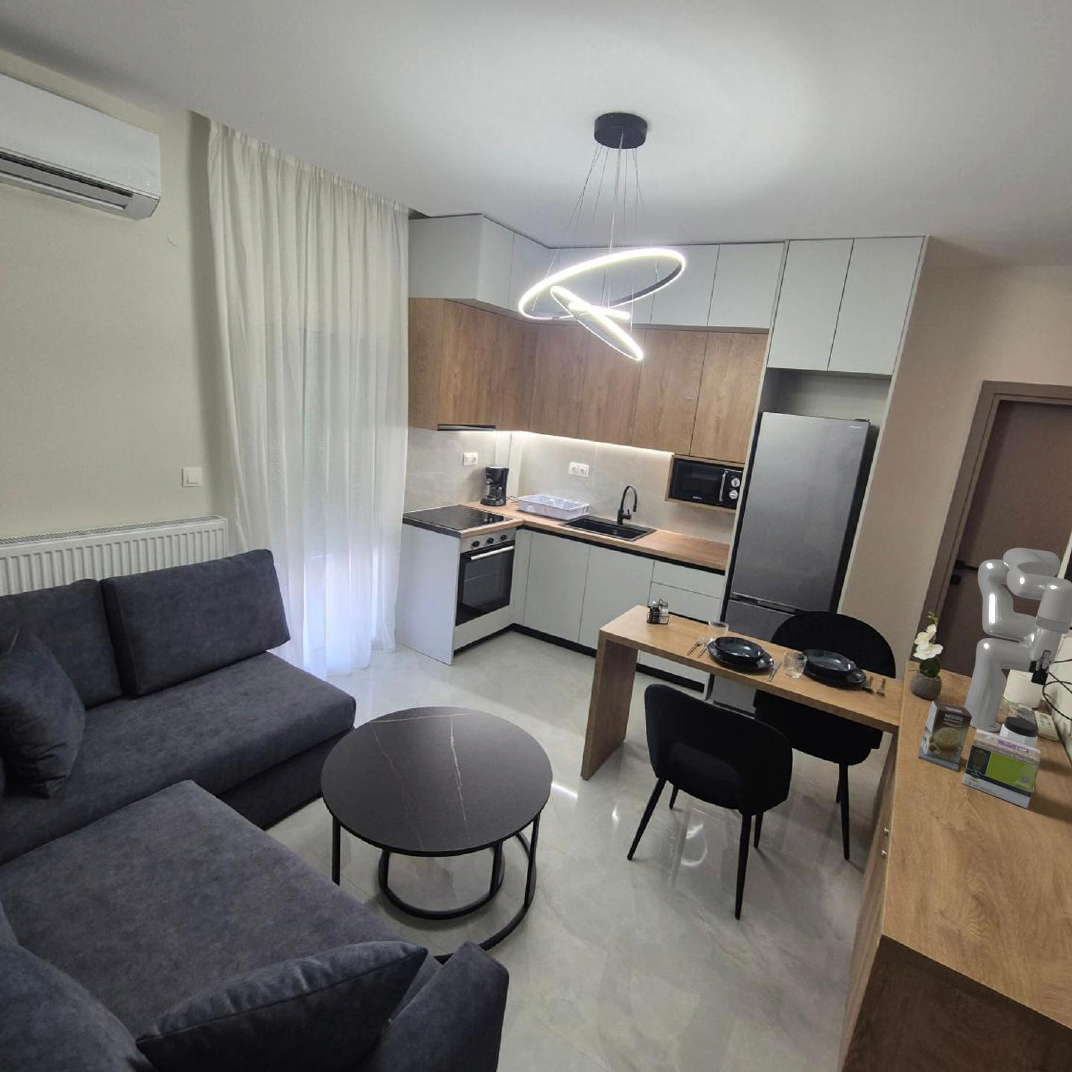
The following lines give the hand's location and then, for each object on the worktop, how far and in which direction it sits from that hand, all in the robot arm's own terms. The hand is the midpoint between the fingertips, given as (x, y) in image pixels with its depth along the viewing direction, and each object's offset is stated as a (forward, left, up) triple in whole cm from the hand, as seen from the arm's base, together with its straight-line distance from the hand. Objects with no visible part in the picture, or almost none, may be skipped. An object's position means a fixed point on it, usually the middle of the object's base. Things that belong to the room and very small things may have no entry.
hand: (1036, 678), depth 170 cm
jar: (-10, +1, -31) cm, 32 cm away
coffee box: (+9, -18, -30) cm, 36 cm away
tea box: (+17, -4, -31) cm, 35 cm away
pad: (+9, -18, -30) cm, 36 cm away
